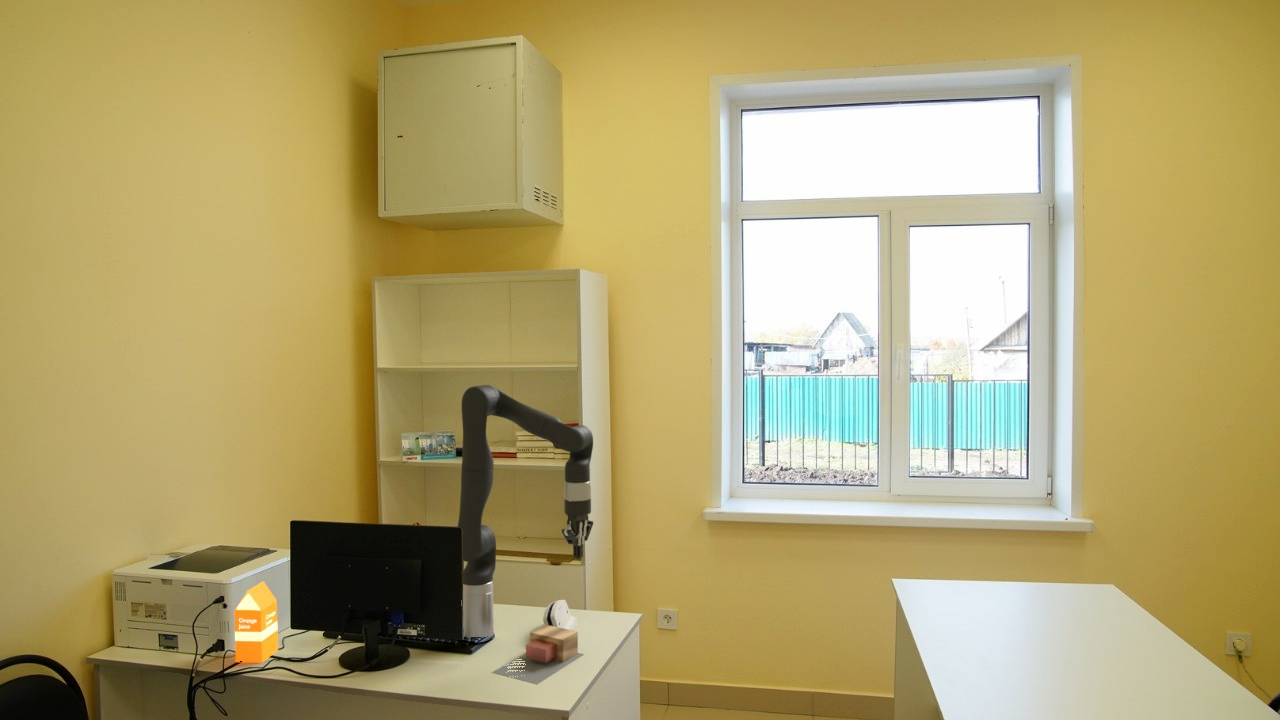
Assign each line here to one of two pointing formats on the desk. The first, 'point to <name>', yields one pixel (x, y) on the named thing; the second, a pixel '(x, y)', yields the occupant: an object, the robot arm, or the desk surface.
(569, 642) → the wooden block
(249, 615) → the orange juice
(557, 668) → the mat
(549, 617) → the white rounded piece
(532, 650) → the pin
